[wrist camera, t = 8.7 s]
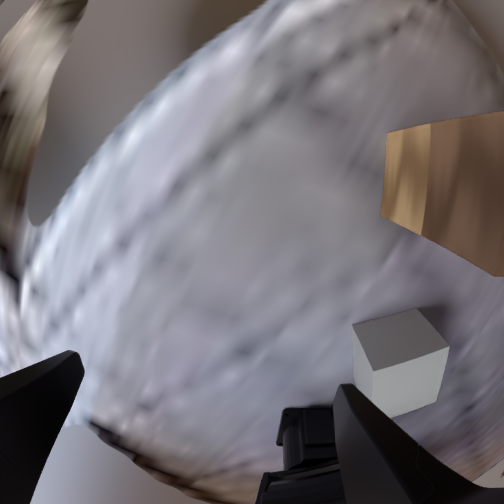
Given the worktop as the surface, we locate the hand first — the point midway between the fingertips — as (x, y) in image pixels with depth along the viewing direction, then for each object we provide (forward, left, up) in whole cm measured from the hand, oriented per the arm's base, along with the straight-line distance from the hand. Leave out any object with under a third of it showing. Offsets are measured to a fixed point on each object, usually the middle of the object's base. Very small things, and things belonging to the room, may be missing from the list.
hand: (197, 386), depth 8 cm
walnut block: (+7, -13, -7) cm, 16 cm away
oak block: (+7, -13, -13) cm, 19 cm away
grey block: (-7, -13, -13) cm, 19 cm away
